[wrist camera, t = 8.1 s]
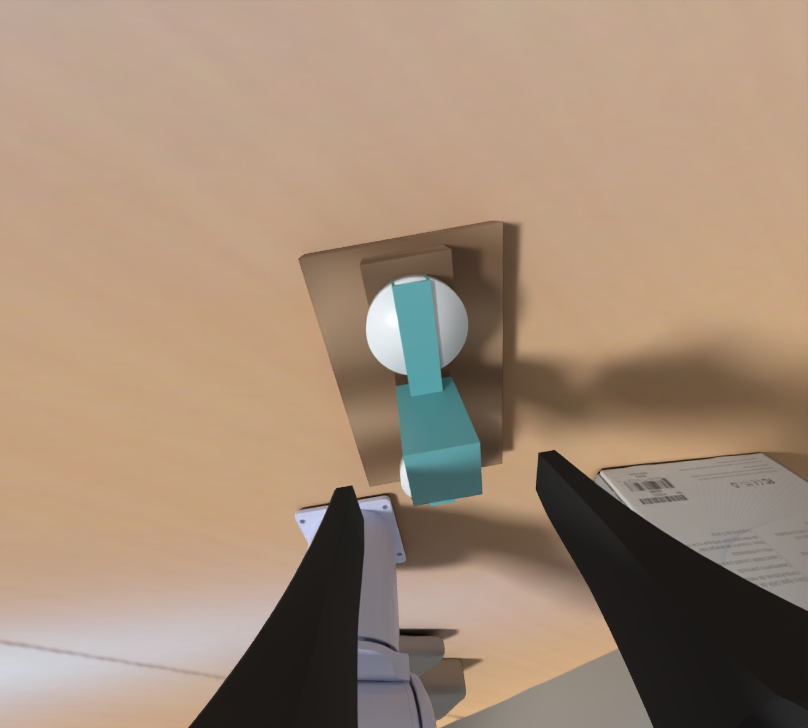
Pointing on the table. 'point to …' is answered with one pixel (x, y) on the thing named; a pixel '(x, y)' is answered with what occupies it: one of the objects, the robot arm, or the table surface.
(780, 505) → the hard drive box
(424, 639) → the emblem
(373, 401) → the display stand
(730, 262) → the table surface
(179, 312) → the table surface
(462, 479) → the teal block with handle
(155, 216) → the table surface
